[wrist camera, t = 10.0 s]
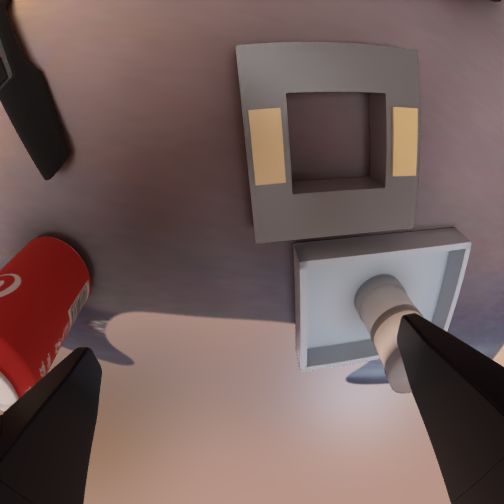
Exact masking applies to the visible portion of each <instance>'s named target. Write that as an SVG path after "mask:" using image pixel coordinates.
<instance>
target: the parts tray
mask: <svg viewBox="0 0 504 504" xmlns="http://www.w3.org/2000/svg"><path fill="white" fill-rule="evenodd" d="M471 244H472V241H470V240H469V239H468V238H467V237H466V236H464V235H463V234H462V233H461V232H459V231H458V230H457V229H456V228H443V229H433V230H423V231H412V232H402V233H392V234H382V235H372V236H362V237H351V238H341V239H331V240H321V241H312V242H302V243H293V251H294V280H295V324H296V353H297V358H298V363H299V368H300V372H303V371H311V370H318V369H324V368H331V367H337V366H343V365H348V364H354V363H360V362H365V361H371V360H376V359H380V357H379V354H378V352H377V350H376V349H375V347H374V345H373V343H372V341H371V338H370V335H369V333H368V330H367V328H366V326H365V324H364V322H363V321H362V320H361V319H360V317H359V315H358V312H357V310H356V308H355V305H354V298H355V294H356V292H357V290H358V289H359V287H360V286H361V285H362V284H363V283H364V282H365V281H367V280H368V279H370V278H371V277H374V276H376V275H380V274H389V275H392V276H394V277H396V278H397V279H398V280H399V282H400V283H401V284H402V286H403V287H404V289H405V290H406V293H407V295H408V297H409V298H410V299H411V301H412V302H413V304H414V305H415V307H416V308H417V309H418V310H419V311H420V313H421V314H422V316H423V318H425V319H427V320H428V321H430V322H432V323H433V324H435V325H437V326H438V327H440V328H442V329H443V330H445V331H447V330H448V327H449V324H450V321H451V318H452V315H453V312H454V309H455V306H456V302H457V299H458V296H459V292H460V289H461V285H462V281H463V278H464V274H465V270H466V266H467V262H468V258H469V253H470V249H471Z"/></svg>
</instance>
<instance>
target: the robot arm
mask: <svg viewBox="0 0 504 504" xmlns="http://www.w3.org/2000/svg"><path fill="white" fill-rule="evenodd" d="M492 1H495V2H499V1H501V0H492ZM397 344H398V348H399V351H400V354H401V357H402V361H403V364H404V368H405V371H406V375H407V378H408V382H409V385H410V388H411V391H412V393H413V396H414V398H415V401H416V403H417V406H418V408H419V411H420V414H421V416H422V419H423V421H424V424H425V427H426V429H427V432H428V435H429V437H430V440H431V443H432V446H433V449H434V452H435V455H436V458H437V461H438V464H439V466H440V470H441V473H442V476H443V479H444V482H445V485H446V488H447V491H448V495H449V498H450V502H451V504H504V367H503V366H501V365H500V364H498V363H496V362H495V361H493V360H492V359H490V358H489V357H487V356H485V355H484V354H482V353H481V352H479V351H477V350H476V349H474V348H473V347H471V346H469V345H468V344H466V343H464V342H463V341H461V340H460V339H458V338H456V337H455V336H453V335H451V334H450V333H448V332H447V331H445V330H443V329H442V328H440V327H438V326H437V325H435V324H433V323H432V322H430V321H428V320H427V319H425V318H423V317H422V316H420V315H418V314H416V313H411V314H406V315H403V316H402V317H401V320H400V325H399V329H398V334H397ZM101 377H102V369H101V366H100V364H99V362H98V360H97V358H96V357H95V355H94V353H93V351H92V350H91V349H90V348H88V347H79V348H77V349H75V350H74V351H73V352H72V353H71V354H69V355H68V356H67V357H66V358H65V359H64V360H62V361H61V362H60V363H59V364H58V365H57V366H55V367H54V368H53V369H52V370H51V371H50V372H49V373H47V374H46V375H45V376H44V377H43V378H42V379H41V380H39V381H38V382H37V383H36V384H35V385H34V386H33V387H31V388H30V389H29V390H28V391H27V392H26V393H25V394H24V395H22V396H21V397H20V398H19V399H18V400H17V401H16V402H15V403H14V404H12V405H11V406H10V407H9V408H8V409H7V410H6V411H5V412H4V413H3V415H0V504H83V502H84V494H85V486H86V479H87V471H88V465H89V459H90V453H91V447H92V441H93V436H94V430H95V425H96V419H97V413H98V404H99V394H100V385H101Z"/></svg>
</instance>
